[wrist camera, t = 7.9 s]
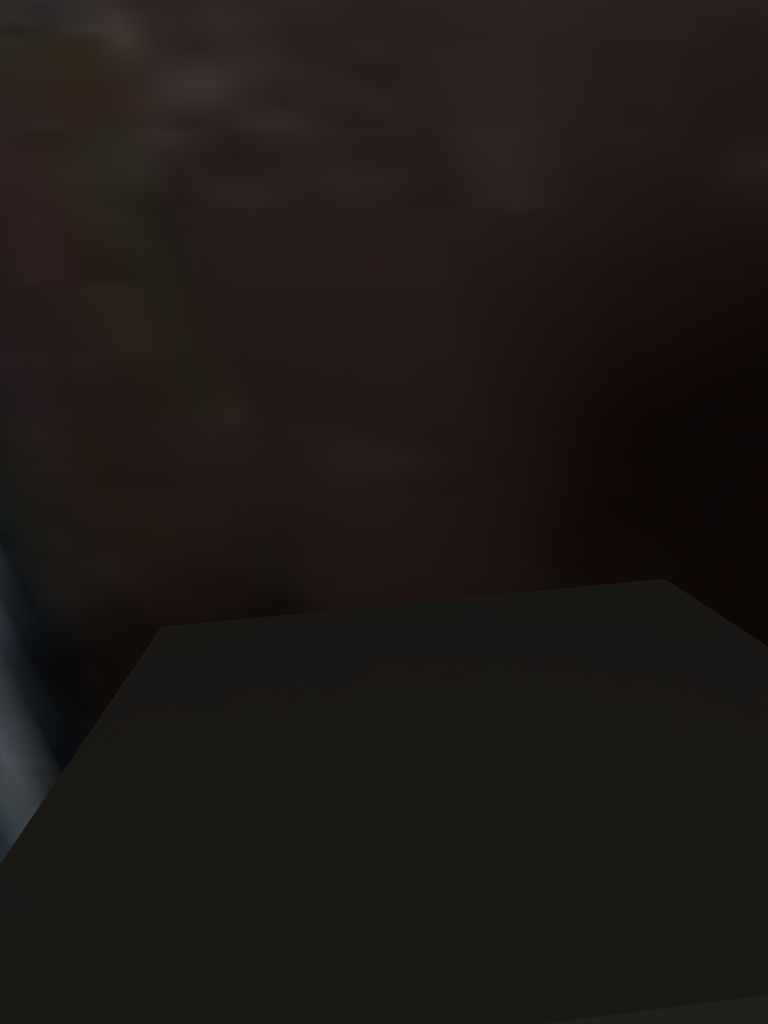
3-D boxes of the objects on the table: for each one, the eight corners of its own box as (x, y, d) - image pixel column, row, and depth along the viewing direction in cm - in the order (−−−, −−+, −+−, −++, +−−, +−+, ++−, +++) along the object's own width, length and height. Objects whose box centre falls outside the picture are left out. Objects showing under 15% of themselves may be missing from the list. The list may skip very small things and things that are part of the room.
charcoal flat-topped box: (161, 626, 13) (-170, 1115, 5) (664, 578, 14) (1214, 937, 5) (226, 1039, 15) (86, 1887, 7) (657, 985, 16) (1031, 1711, 7)
